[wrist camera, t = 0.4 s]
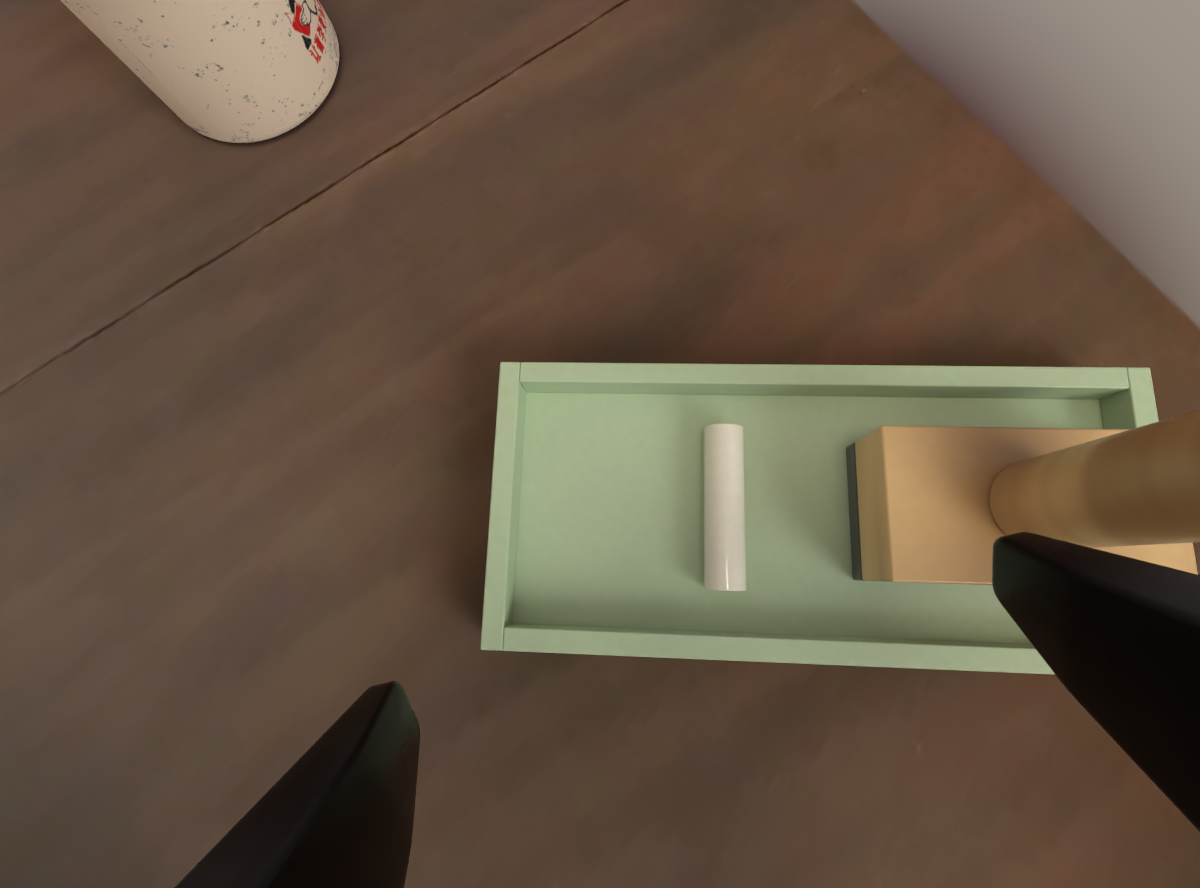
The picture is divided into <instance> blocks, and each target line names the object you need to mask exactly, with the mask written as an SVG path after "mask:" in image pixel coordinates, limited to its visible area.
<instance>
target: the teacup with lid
mask: <svg viewBox="0 0 1200 888" xmlns="http://www.w3.org/2000/svg"><path fill="white" fill-rule="evenodd" d="M60 1H62V2H63V3H64V4H65V5H66V6H67V7H68V8H69V9H70V10H71V11H72V12H73V13H74V14H75V15H76V16H77V17H78V18H79V19H80V20H81V21H82V22H83V23H84V24H85V25H86V26H87V27H88V28H89V29H90V30H91V31H92V32H93V33H94V34H95V35H96V36H97V37H98V38H99V39H100V40H101V41H102V42H103V43H104V44H105V45H106V46H107V47H108V48H109V49H110V50H111V51H112V52H113V53H114V54H115V55H116V56H117V57H118V58H119V59H120V60H121V61H122V62H123V63H124V64H126V65H127V66H128V67H129V68H130V69H131V70H132V71H133V72H134V73H135V74H136V75H137V76H138V77H139V78H140V79H141V80H142V81H143V82H144V83H145V84H146V85H147V86H148V87H149V88H150V89H151V90H152V91H153V92H154V93H155V94H156V95H157V96H158V97H159V98H160V99H161V100H162V101H163V102H164V103H165V104H166V105H167V106H168V107H169V108H170V109H171V110H172V111H173V112H174V113H175V114H176V115H177V116H178V117H179V118H180V119H181V120H182V121H184V122H185V123H186V124H187V125H188V126H189V127H191V128H192V129H194V130H195V131H197V132H199V133H200V134H202V135H205V136H207V137H209V138H212V139H215V140H219V141H224V142H231V143H250V142H258V141H263V140H267V139H270V138H273V137H276V136H279V135H281V134H283V133H285V132H287V131H289V130H291V129H293V128H294V127H296V126H297V125H299V124H300V123H302V122H303V121H304V120H306V119H307V118H308V117H309V116H310V115H311V114H312V113H314V112H315V110H316V109H317V108H318V107H319V106H320V105H321V103H322V102H323V101H324V99H325V98H326V96H327V95H328V93H329V91H330V89H331V87H332V85H333V83H334V80H335V78H336V74H337V70H338V65H339V44H338V39H337V35H336V32H335V30H334V27H333V25H332V23H331V21H330V19H329V18H328V16H327V14H326V12H325V10H324V9H323V7H322V5H321V3H320V2H319V0H60Z"/></svg>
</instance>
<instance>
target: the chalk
mask: <svg viewBox="0 0 1200 888" xmlns="http://www.w3.org/2000/svg"><path fill="white" fill-rule="evenodd" d="M704 589H705V590H718V591H746V590H747V584H746V524H745V464H744V428H743V426H741V425H738V424H731V423H719V424H711V425H708V426H705V427H704Z"/></svg>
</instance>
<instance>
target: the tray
mask: <svg viewBox="0 0 1200 888" xmlns="http://www.w3.org/2000/svg"><path fill="white" fill-rule="evenodd" d="M1155 422H1158V415H1157V409H1156V403H1155V396H1154V390H1153V384H1152V378H1151V372H1150V368H1124V367H1013V366H901V365H790V364H678V363H566V362H521V363H520V362H501V363H500V373H499V387H498V402H497V416H496V431H495V445H494V459H493V474H492V488H491V502H490V517H489V531H488V546H487V560H486V574H485V589H484V603H483V617H482V632H481V646H480V648H481V649H482V650H498V651H501V650H504V651H520V652H543V653H567V654H590V655H613V656H636V657H659V658H683V659H706V660H729V661H752V662H775V663H798V664H822V665H845V666H868V667H891V668H914V669H938V670H961V671H984V672H1007V673H1030V674H1054V675H1055V673H1054V672H1053V671H1052V670H1051V668H1050V667H1049V666H1048V664H1047V663H1046V662H1045V660H1044V659H1043V658H1042V657H1041V655H1040V654H1039V653H1038V651H1037V650H1036V649H1035V648H1034V646H1033V645H1032V644H1031V642H1030V641H1029V640H1028V638H1027V637H1026V636H1025V635H1024V633H1023V632H1022V631H1021V629H1020V628H1019V627H1018V625H1017V624H1016V623H1015V622H1014V620H1013V619H1012V618H1011V616H1010V615H1009V614H1008V613H1007V611H1006V610H1005V609H1004V607H1003V606H1002V605H1001V603H1000V602H999V601H998V599H997V597H996V595H995V593H994V590H993V586H992V585H968V584H939V583H909V582H882V581H859V580H853V576H852V557H851V538H850V518H849V499H848V480H847V460H846V447H848V446H849V445H851V444H853V443H854V442H856V441H858V440H859V439H861V438H863V437H864V436H866V435H868V434H869V433H871V432H873V431H874V430H876V429H878V428H879V427H881V426H883V425H889V426H952V427H1016V428H1079V429H1134V428H1138V427H1141V426H1145V425H1148V424H1151V423H1155ZM719 423H731V424H738V425H741V426H743V428H744V464H745V524H746V584H747V590H746V591H718V590H705V589H704V427H705V426H708V425H711V424H719Z"/></svg>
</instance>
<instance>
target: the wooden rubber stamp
mask: <svg viewBox="0 0 1200 888" xmlns="http://www.w3.org/2000/svg"><path fill="white" fill-rule="evenodd" d="M846 460H847V480H848V499H849V518H850V538H851V557H852V576H853V580H859V581H882V582H909V583H939V584H968V585H992V556H993V544H994V541H995V540H996V539H997V538H999V537H1001V536H1006V535H1010V534H1014V533H1018V532H1030V533H1034V534H1038V535H1042V536H1046V537H1050V538H1054V539H1058V540H1062V541H1066V542H1070V543H1074V544H1078V545H1082V546H1086V547H1090V548H1094V549H1098V550H1102V551H1106V552H1110V553H1114V554H1118V555H1122V556H1126V557H1130V558H1134V559H1138V560H1142V561H1146V562H1150V563H1154V564H1158V565H1162V566H1166V567H1169V568H1173V569H1177V570H1181V571H1185V572H1189V573H1193V574H1197V575H1198V572H1197V566H1196V560H1195V554H1194V548H1193V543H1194V542H1200V410H1196V411H1193V412H1190V413H1186V414H1183V415H1179V416H1176V417H1172V418H1169V419H1165V420H1162V421H1158V422H1155V423H1151V424H1148V425H1145V426H1141V427H1138V428H1134V429H1079V428H1016V427H952V426H889V425H883V426H881V427H879V428H878V429H876V430H874V431H873V432H871V433H869V434H868V435H866V436H864V437H863V438H861V439H859V440H858V441H856V442H854V443H853V444H851V445H849V446H848V447H846Z"/></svg>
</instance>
